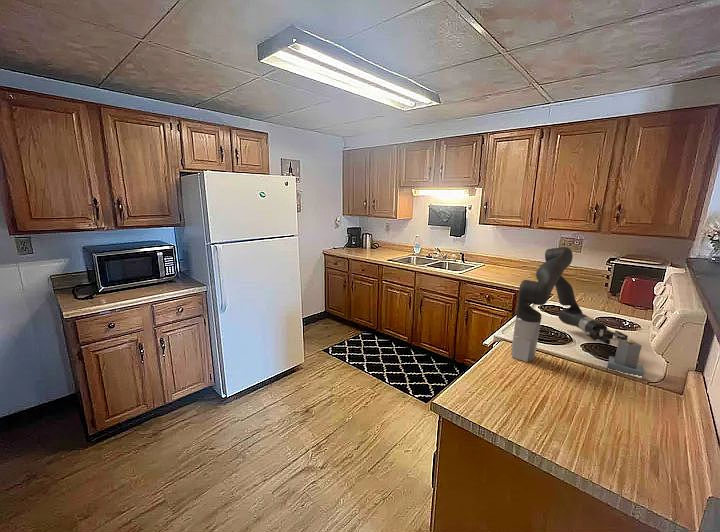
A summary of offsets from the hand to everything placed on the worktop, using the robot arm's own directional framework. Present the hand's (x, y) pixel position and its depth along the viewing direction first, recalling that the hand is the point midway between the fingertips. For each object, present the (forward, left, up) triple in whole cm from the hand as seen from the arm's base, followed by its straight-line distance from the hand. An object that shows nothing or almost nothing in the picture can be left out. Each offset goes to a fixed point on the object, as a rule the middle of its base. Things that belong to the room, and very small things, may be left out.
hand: (619, 342), depth 135 cm
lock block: (-4, -3, -7) cm, 9 cm away
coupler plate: (-4, -3, -9) cm, 10 cm away
